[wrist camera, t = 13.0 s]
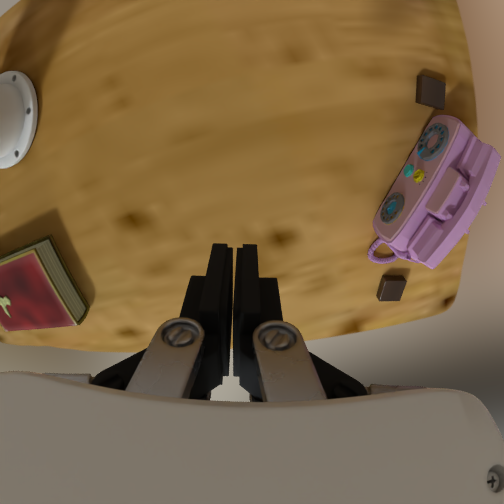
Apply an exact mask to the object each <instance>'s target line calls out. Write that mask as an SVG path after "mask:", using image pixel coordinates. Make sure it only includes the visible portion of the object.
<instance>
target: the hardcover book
mask: <svg viewBox="0 0 504 504" xmlns="http://www.w3.org/2000/svg"><path fill="white" fill-rule="evenodd" d="M89 308H90V307H89V305H88V304H87V302H86V300H85V299H84V297H83V295H82V294H81V292H80V290H79V288H78V287H77V285H76V283H75V281H74V279H73V278H72V276H71V274H70V272H69V270H68V268H67V266H66V264H65V262H64V260H63V259H62V257H61V255H60V253H59V250H58V248H57V246H56V244H55V242H54V240H53V238H52V236H51V235H49V236H46V237H44V238H41V239H39V240H37V241H34V242H32V243H29V244H27V245H25V246H23V247H20V248H18V249H16V250H13V251H11V252H9V253H7V254H5V255H2V256H0V325H1V326H2V328H3V329H4V331H16V330H30V329H43V328H54V327H65V326H75V325H80V324H81V323H82V322H83V321H84V319H85V318H86V316H87V314H88V312H89Z"/></svg>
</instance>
